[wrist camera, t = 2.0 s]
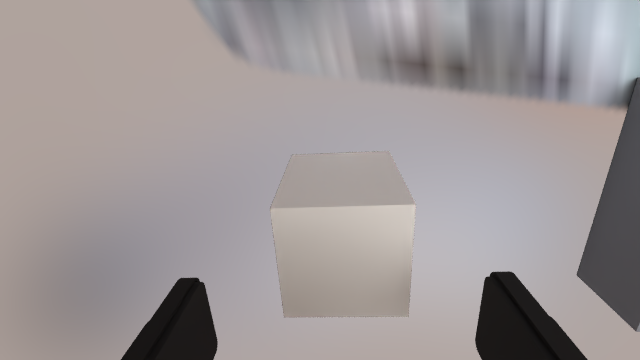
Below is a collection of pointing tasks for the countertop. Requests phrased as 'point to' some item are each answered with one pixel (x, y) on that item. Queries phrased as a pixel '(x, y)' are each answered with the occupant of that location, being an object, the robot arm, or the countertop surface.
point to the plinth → (618, 226)
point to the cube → (344, 236)
